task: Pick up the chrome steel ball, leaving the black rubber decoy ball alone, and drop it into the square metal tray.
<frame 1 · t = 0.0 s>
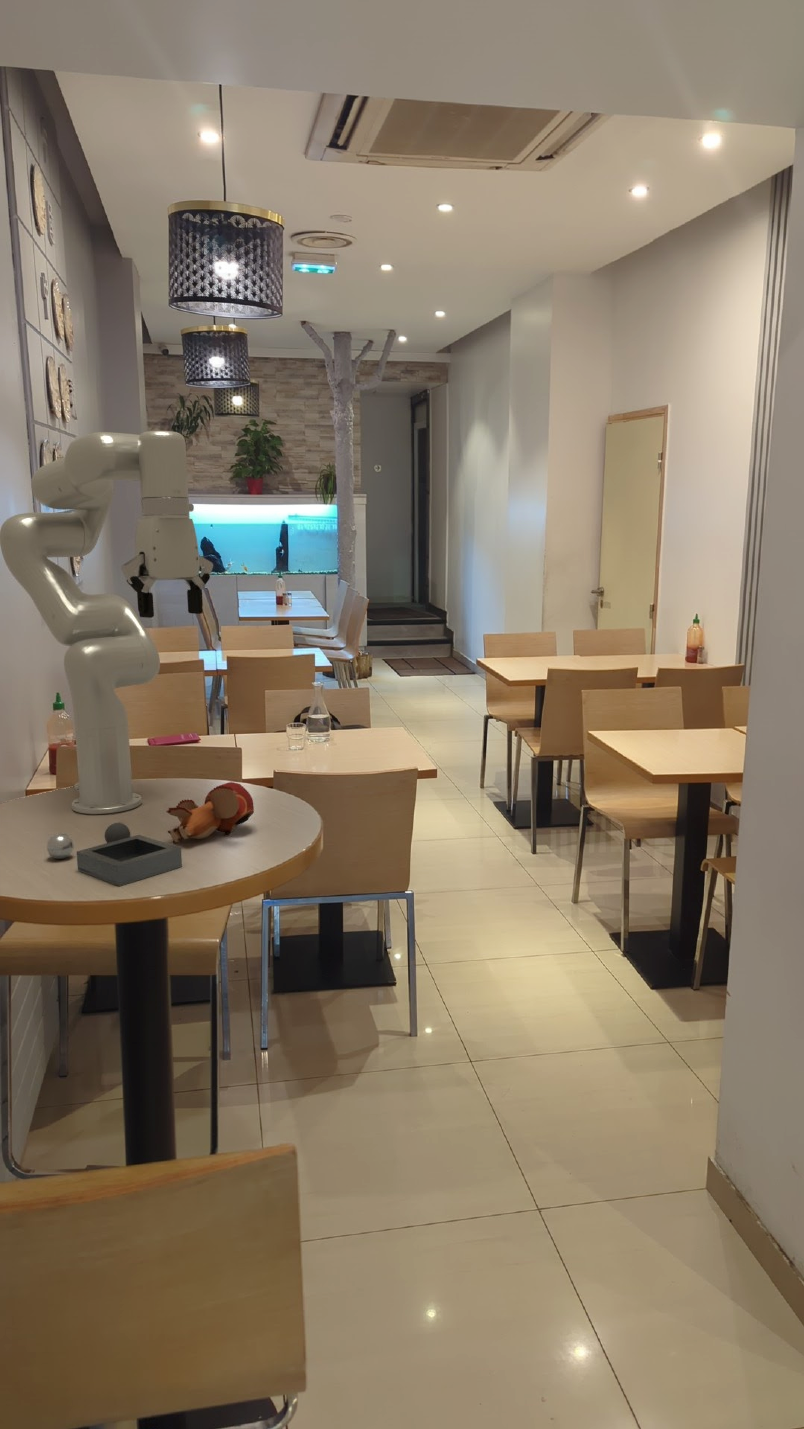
hand: (171, 615, 162), 37 cm above the table, tool pointing down, fingers open, 9 cm apart
decoy ball: (117, 835, 158), point 2 cm above the table
square metal tray: (130, 868, 148), on the table
steel ball: (60, 846, 153), point 2 cm above the table
figurine: (207, 837, 164), on the table
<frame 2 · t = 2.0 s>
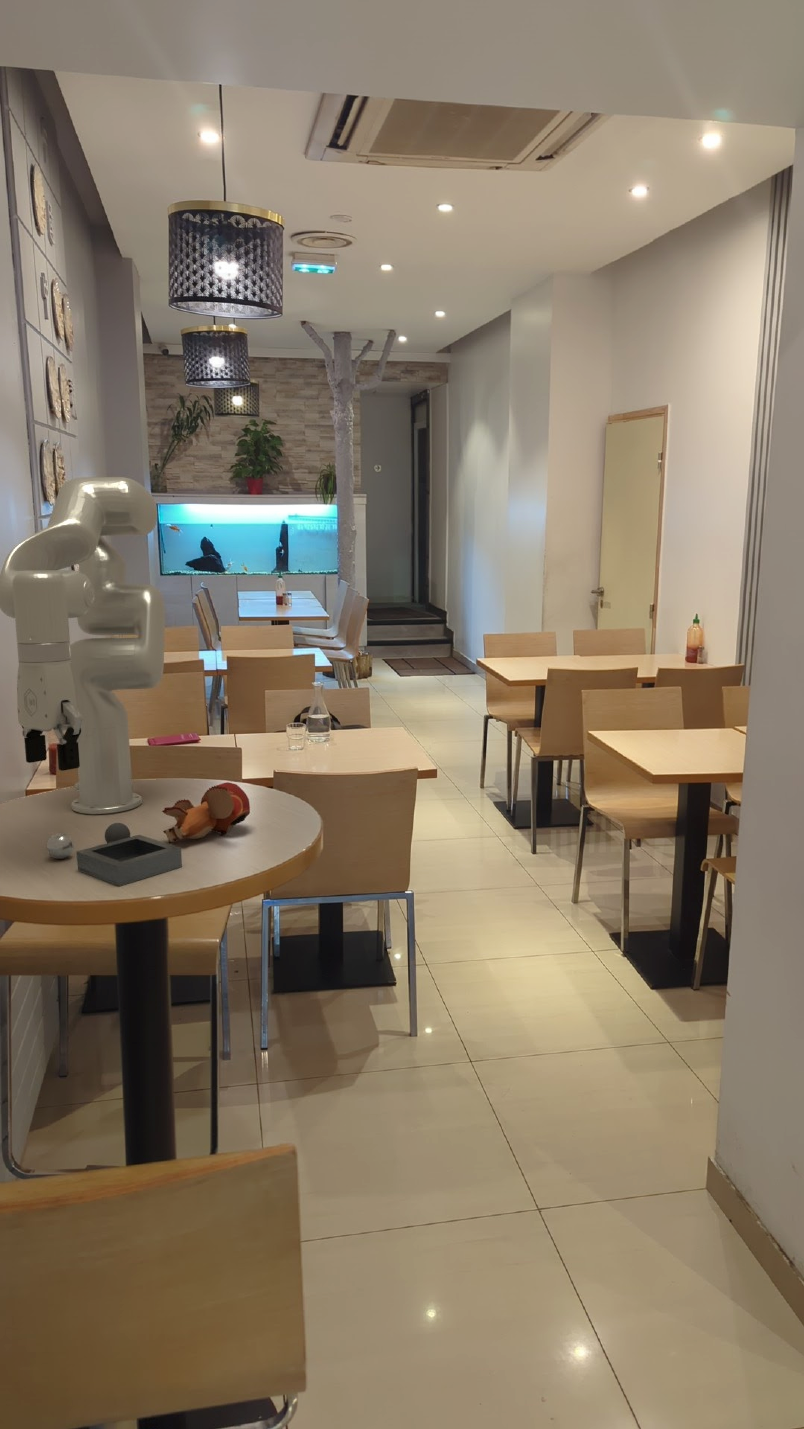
hand: (52, 765, 150), 15 cm above the table, tool pointing down, fingers open, 9 cm apart
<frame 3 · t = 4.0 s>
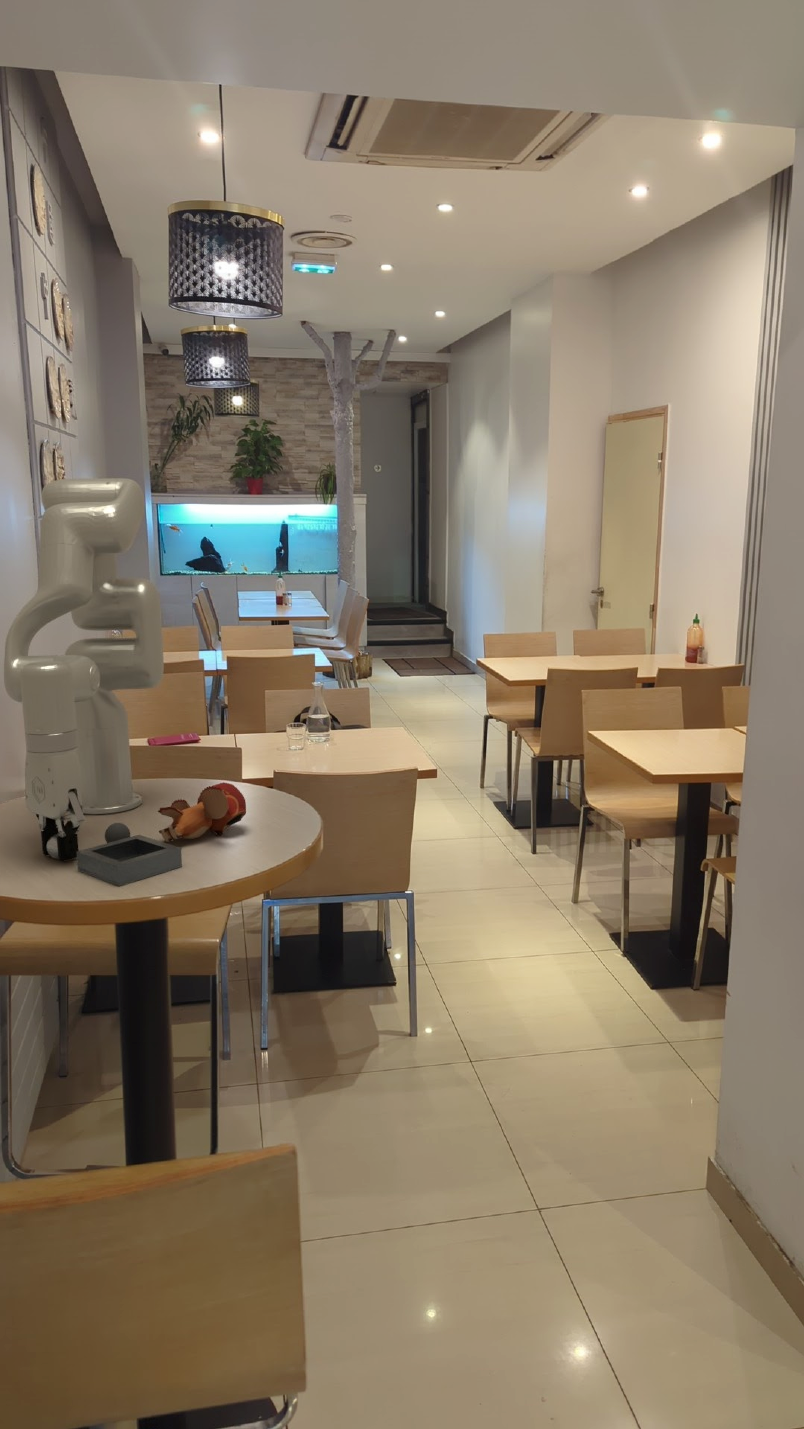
hand: (60, 855, 153), 1 cm above the table, tool pointing down, fingers closed on steel ball, 4 cm apart
steel ball: (60, 846, 153), point 2 cm above the table, touching gripper
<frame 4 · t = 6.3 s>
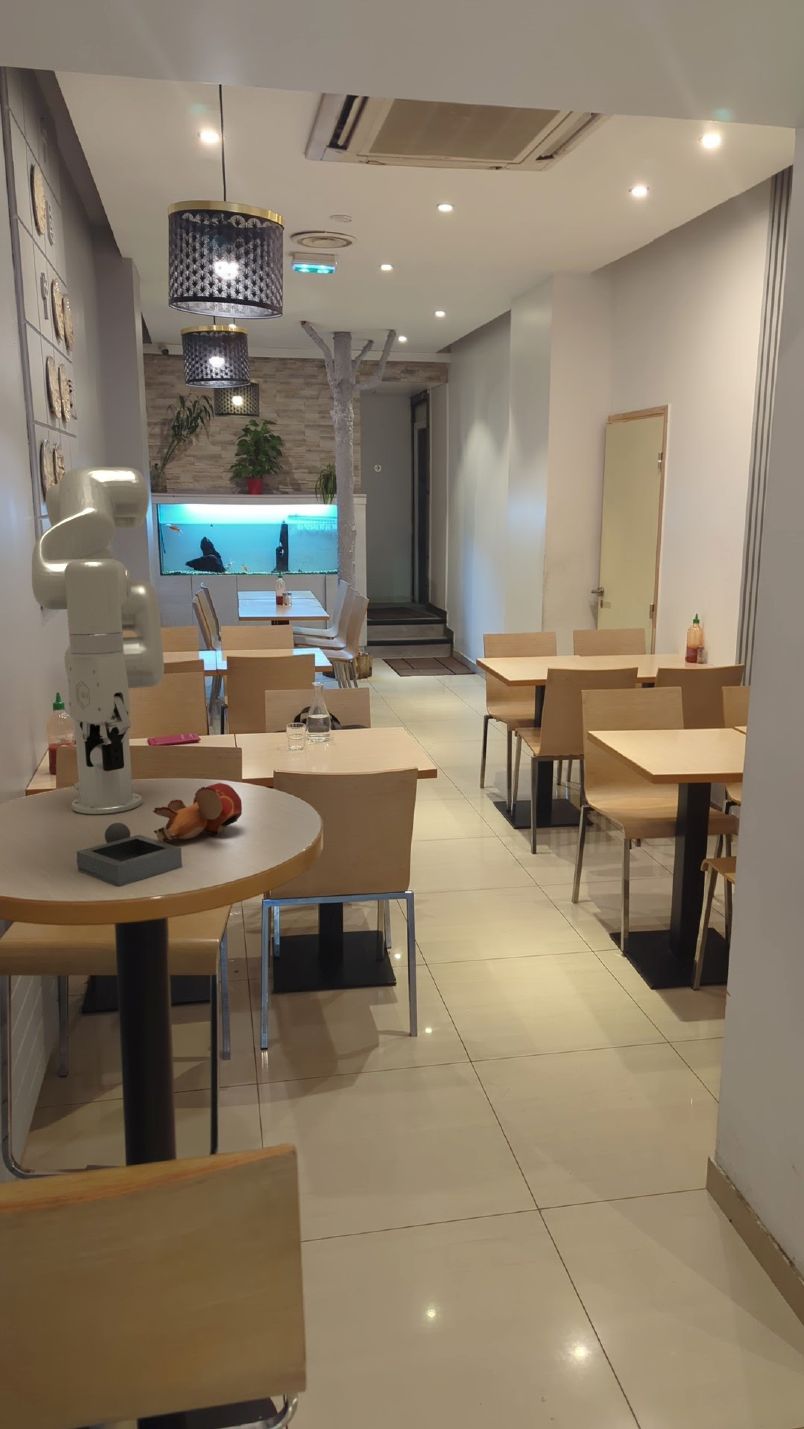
hand: (105, 766, 146), 16 cm above the table, tool pointing down, fingers closed on steel ball, 4 cm apart
steel ball: (104, 756, 146), point 17 cm above the table, touching gripper
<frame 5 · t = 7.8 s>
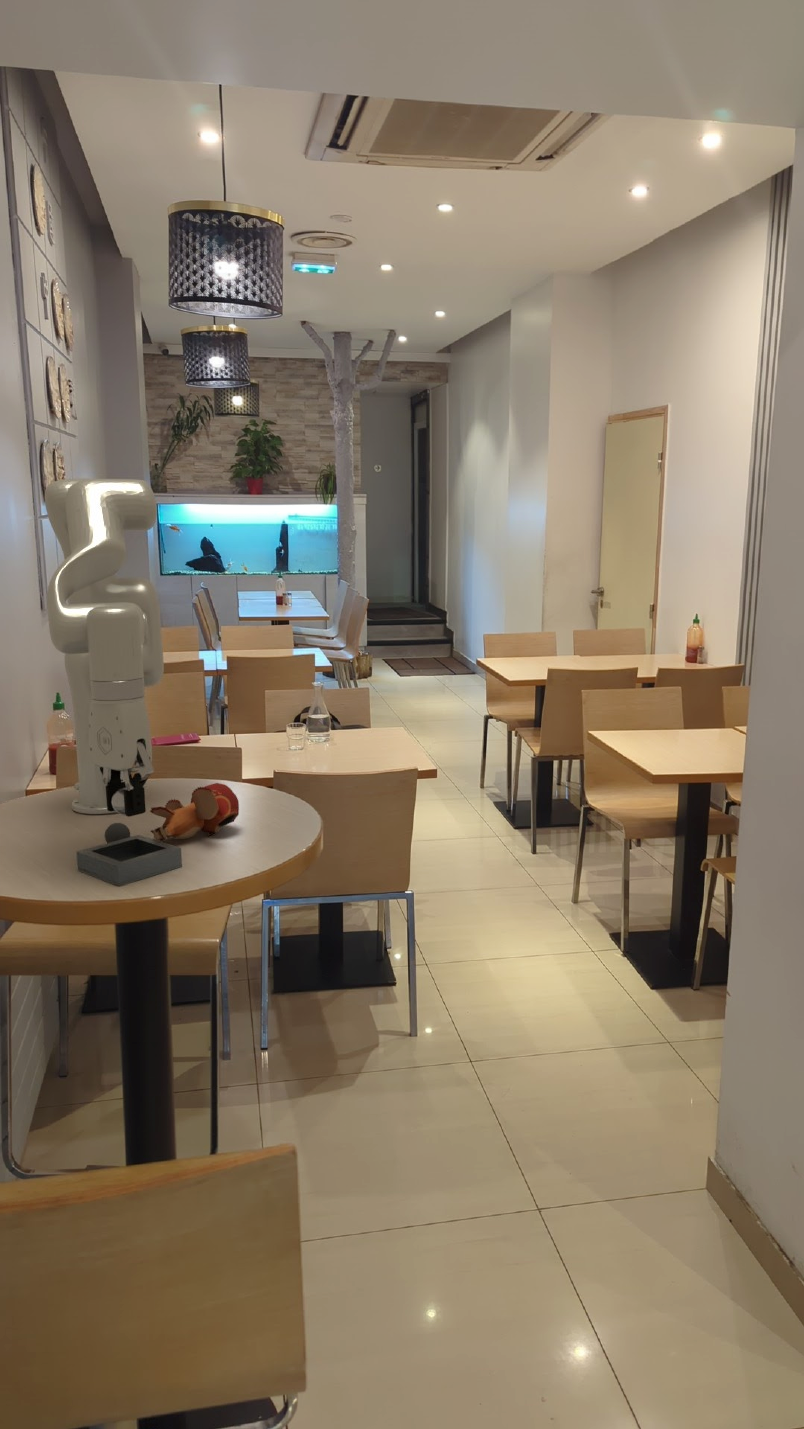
hand: (126, 810, 146), 9 cm above the table, tool pointing down, fingers closed on steel ball, 4 cm apart
steel ball: (125, 801, 145), point 11 cm above the table, touching gripper
when the fingers open (4 cm above the table, at t = 9.1 s): steel ball drops 3 cm, resting on square metal tray.
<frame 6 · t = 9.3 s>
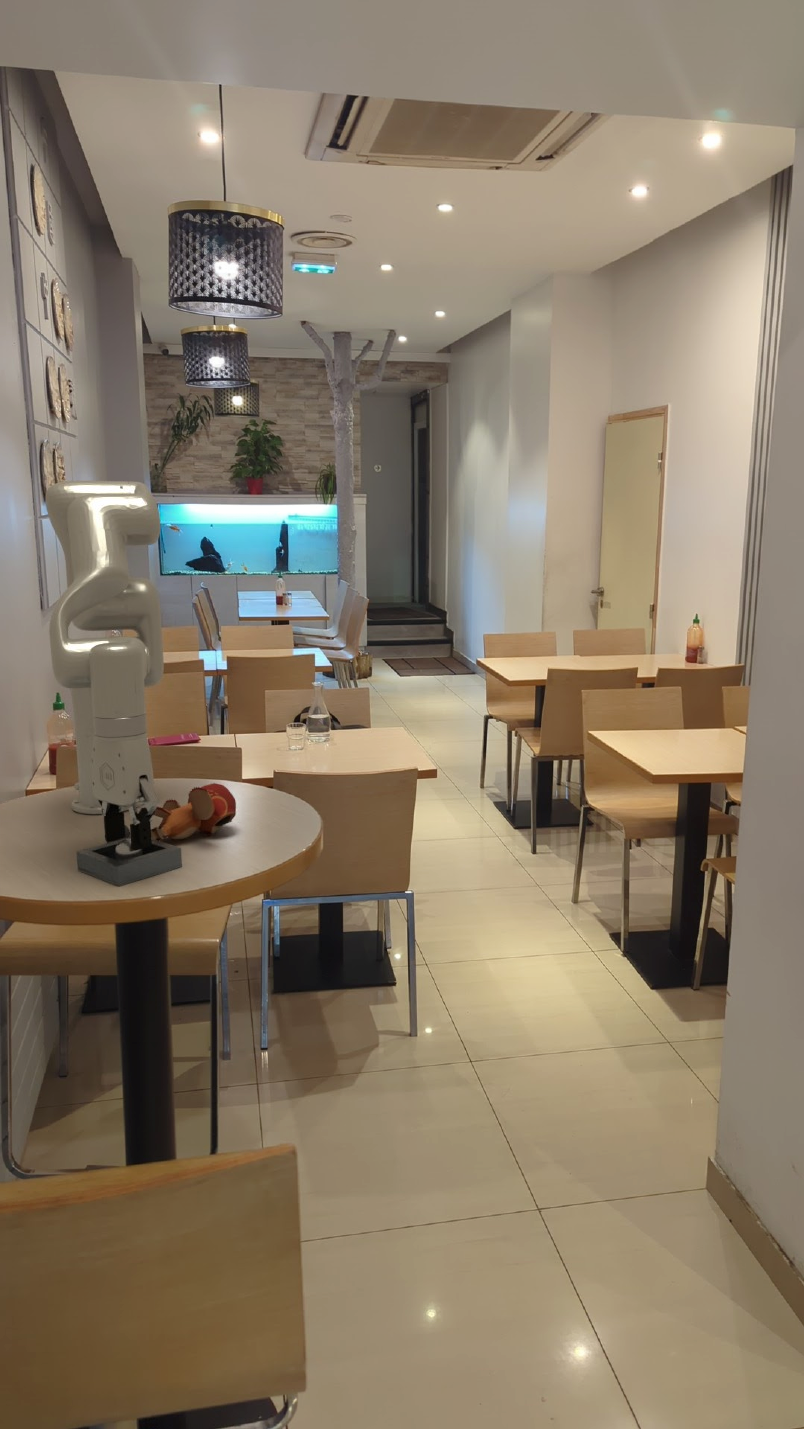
hand: (128, 842, 147), 4 cm above the table, tool pointing down, fingers open, 6 cm apart
steel ball: (128, 852, 147), point 3 cm above the table, touching square metal tray
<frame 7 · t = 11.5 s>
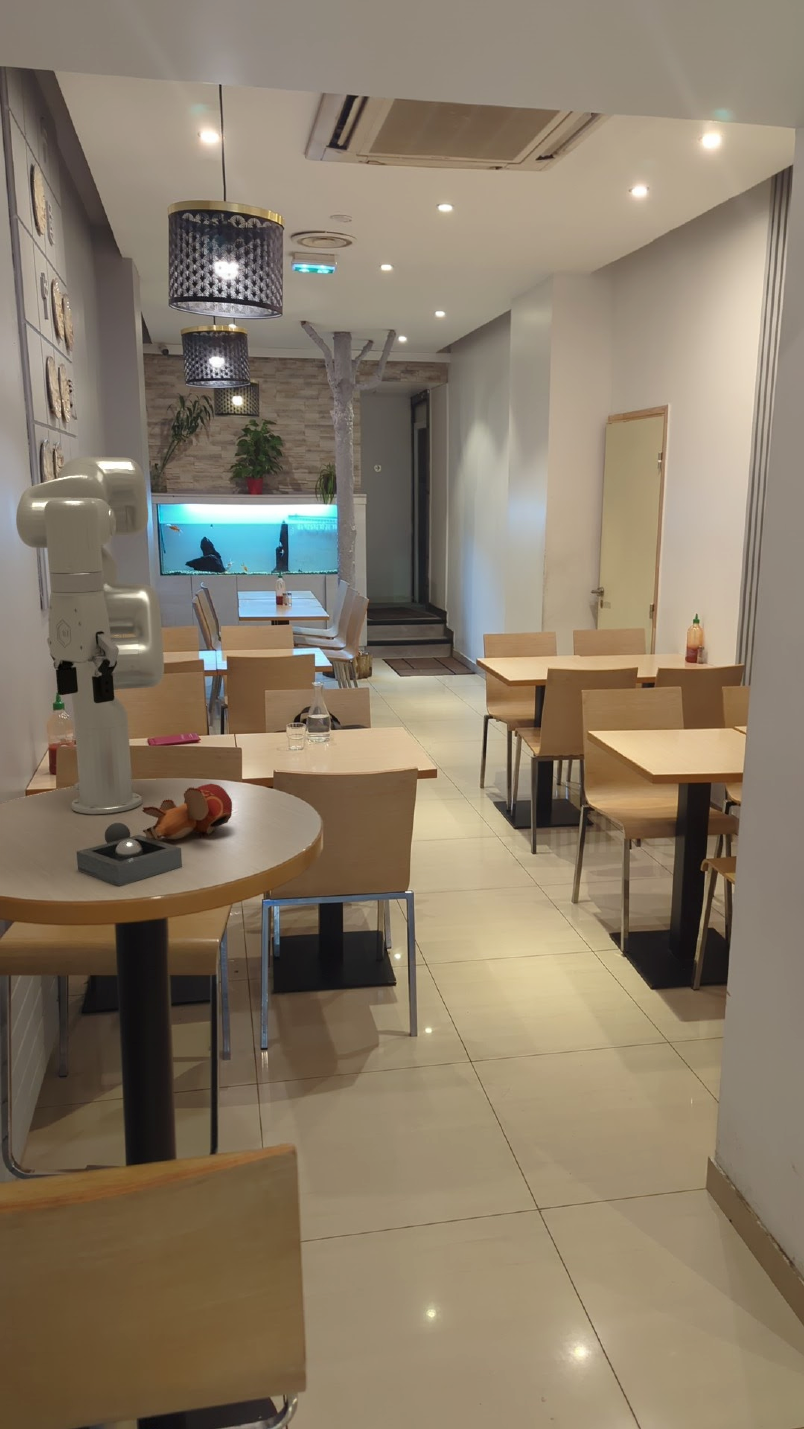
hand: (85, 697, 148), 26 cm above the table, tool pointing down, fingers open, 9 cm apart
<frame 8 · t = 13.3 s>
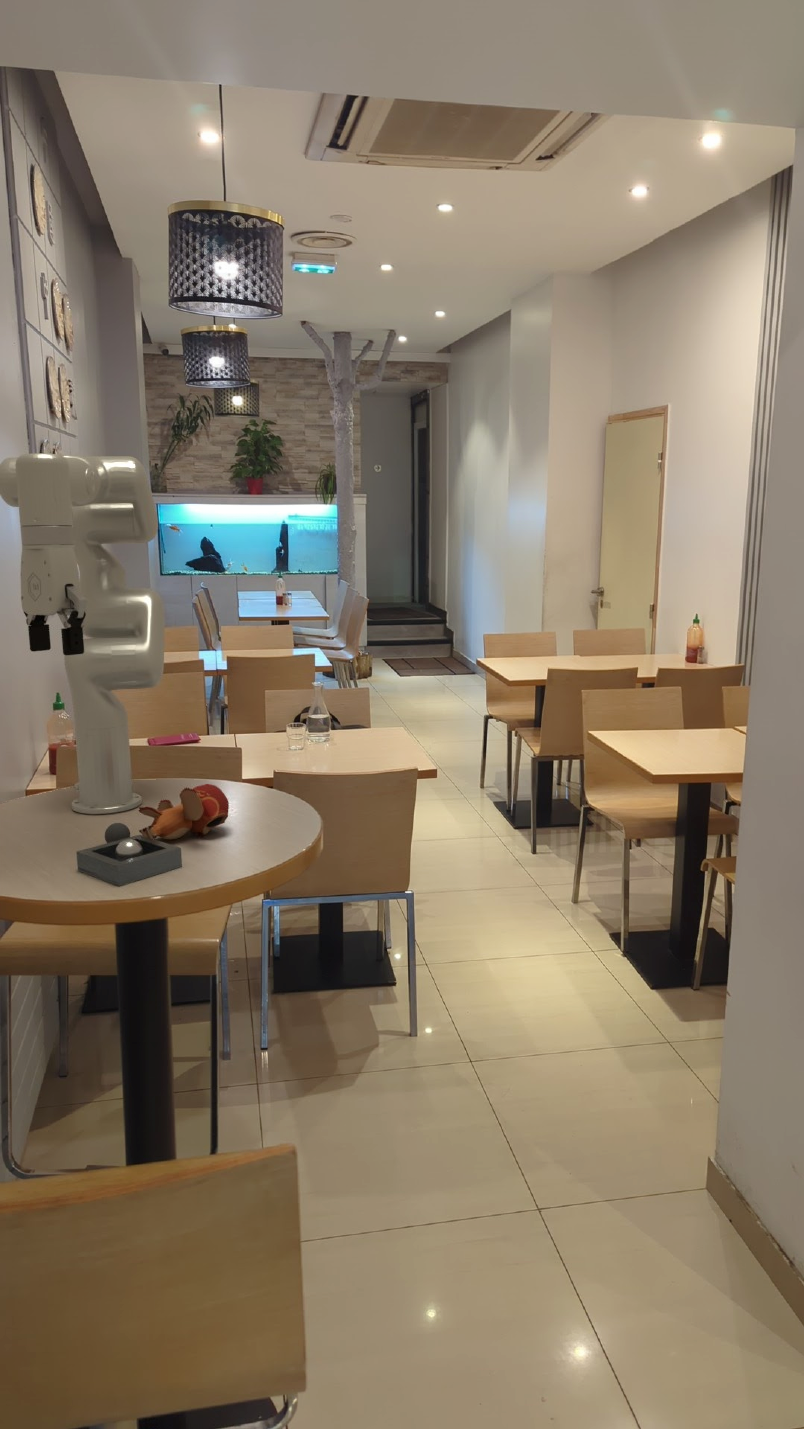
hand: (56, 652, 149), 32 cm above the table, tool pointing down, fingers open, 9 cm apart
at the end: steel ball 0.1 cm off-centre on the square metal tray, point 2.6 cm above the square metal tray's base; the gripper is holding nothing; decoy ball moved 0.0 cm from its start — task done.
